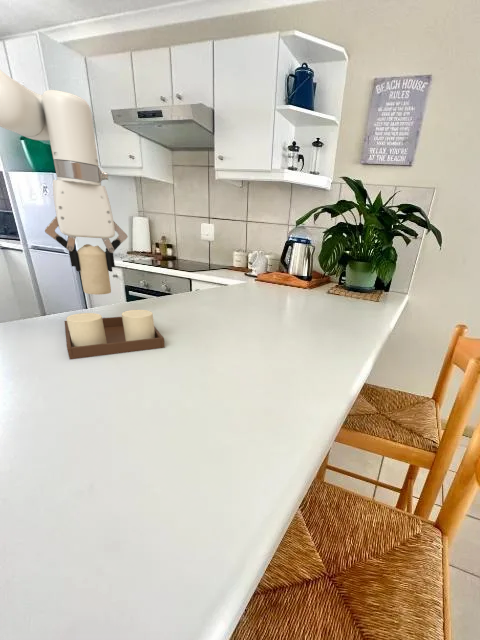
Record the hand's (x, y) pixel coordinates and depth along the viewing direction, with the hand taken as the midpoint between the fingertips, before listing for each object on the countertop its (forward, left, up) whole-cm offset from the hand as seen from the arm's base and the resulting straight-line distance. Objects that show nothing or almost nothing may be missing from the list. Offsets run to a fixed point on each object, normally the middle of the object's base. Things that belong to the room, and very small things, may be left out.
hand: (94, 269), depth 72 cm
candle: (0, 0, -5) cm, 5 cm away
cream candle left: (-4, -18, -11) cm, 22 cm away
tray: (0, -14, -12) cm, 19 cm away
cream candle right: (+5, -18, -11) cm, 22 cm away
